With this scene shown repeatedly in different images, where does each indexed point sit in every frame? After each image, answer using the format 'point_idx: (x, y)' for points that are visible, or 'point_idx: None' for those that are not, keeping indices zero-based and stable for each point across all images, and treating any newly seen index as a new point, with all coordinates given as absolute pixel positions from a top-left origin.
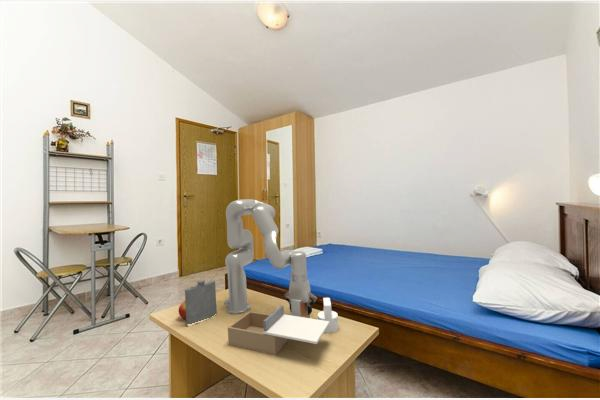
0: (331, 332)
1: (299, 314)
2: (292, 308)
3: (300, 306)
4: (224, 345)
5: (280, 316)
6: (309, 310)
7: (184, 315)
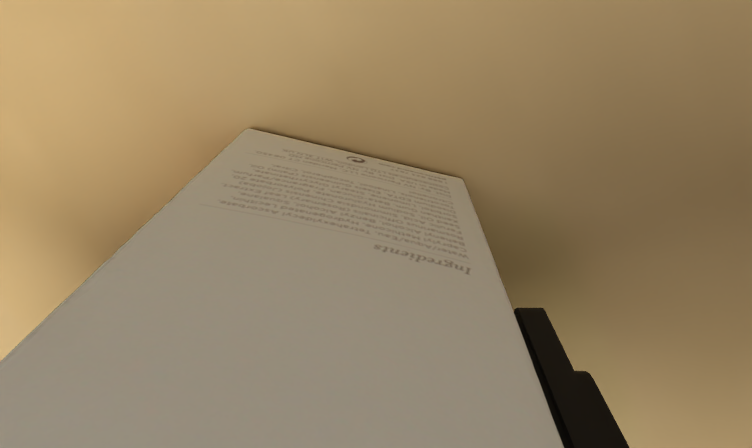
0: None
1: (211, 195)
2: (465, 312)
3: (23, 355)
4: None
5: None
6: None
7: None
